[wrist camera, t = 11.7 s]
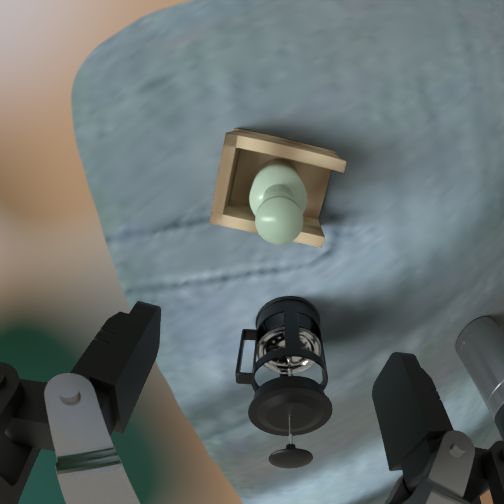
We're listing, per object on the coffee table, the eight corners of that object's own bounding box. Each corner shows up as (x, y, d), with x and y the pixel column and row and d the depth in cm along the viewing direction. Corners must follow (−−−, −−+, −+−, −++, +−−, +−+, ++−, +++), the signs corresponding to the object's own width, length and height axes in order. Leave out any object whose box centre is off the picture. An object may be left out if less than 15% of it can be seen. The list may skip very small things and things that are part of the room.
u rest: (334, 151, 35) (347, 158, 29) (313, 228, 40) (321, 250, 33) (235, 128, 35) (226, 130, 29) (220, 207, 39) (209, 225, 33)
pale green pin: (304, 164, 35) (324, 195, 21) (293, 206, 38) (305, 262, 23) (260, 154, 35) (250, 178, 21) (251, 197, 37) (236, 247, 23)
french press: (328, 297, 43) (358, 435, 22) (319, 347, 47) (336, 479, 26) (244, 294, 44) (219, 433, 23) (244, 345, 48) (225, 477, 27)
